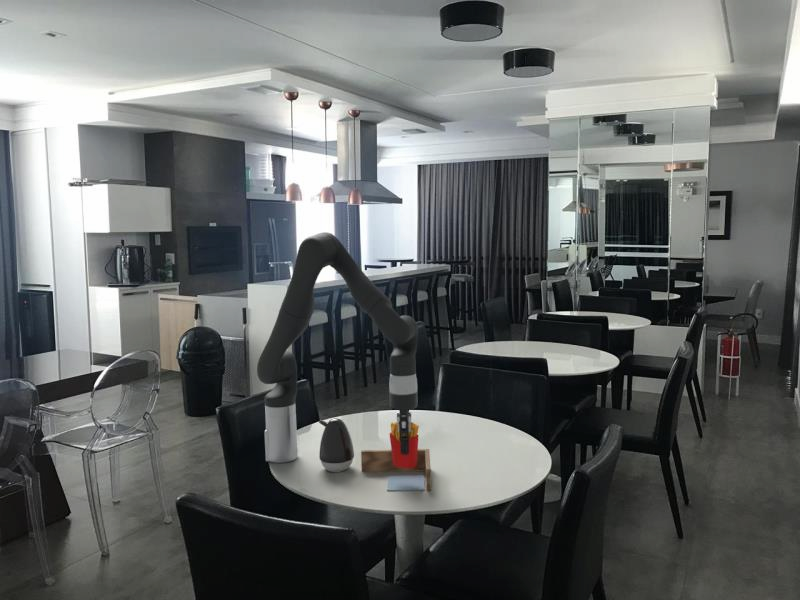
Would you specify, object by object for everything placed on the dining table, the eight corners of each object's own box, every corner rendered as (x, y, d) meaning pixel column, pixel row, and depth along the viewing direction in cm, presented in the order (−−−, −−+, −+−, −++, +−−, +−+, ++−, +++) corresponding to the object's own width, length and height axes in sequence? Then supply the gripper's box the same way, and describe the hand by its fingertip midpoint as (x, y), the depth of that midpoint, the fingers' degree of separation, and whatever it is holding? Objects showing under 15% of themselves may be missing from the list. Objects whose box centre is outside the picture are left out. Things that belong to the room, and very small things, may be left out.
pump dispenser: (329, 461, 201) (327, 412, 199) (360, 464, 197) (358, 415, 195) (312, 473, 191) (310, 422, 189) (345, 477, 187) (343, 425, 186)
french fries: (388, 465, 181) (387, 423, 180) (395, 460, 185) (394, 419, 183) (416, 470, 177) (414, 427, 176) (422, 464, 181) (421, 422, 179)
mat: (387, 491, 177) (387, 489, 177) (388, 476, 187) (388, 475, 187) (424, 490, 177) (424, 489, 176) (424, 476, 186) (424, 475, 186)
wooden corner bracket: (357, 492, 176) (356, 470, 176) (362, 470, 192) (361, 450, 192) (431, 491, 176) (430, 469, 175) (429, 468, 192) (429, 448, 191)
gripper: (417, 396, 171) (418, 459, 173) (417, 383, 186) (418, 442, 188) (388, 396, 172) (390, 460, 173) (390, 383, 186) (392, 442, 188)
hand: (405, 450), depth 180 cm, fingers closed on french fries, 4 cm apart
